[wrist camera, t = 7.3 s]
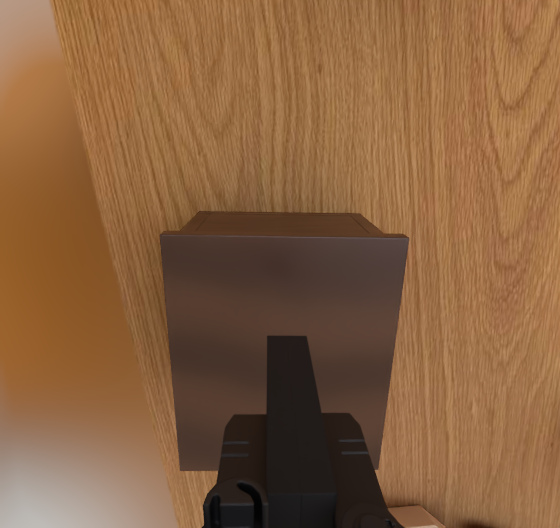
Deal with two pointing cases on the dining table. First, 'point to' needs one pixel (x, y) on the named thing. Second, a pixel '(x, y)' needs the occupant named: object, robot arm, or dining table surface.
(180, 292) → the lid
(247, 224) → the chest
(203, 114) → the dining table surface
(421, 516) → the campfire
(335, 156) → the dining table surface
